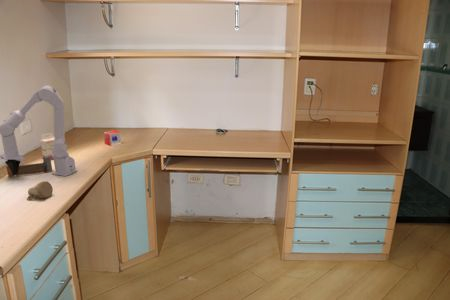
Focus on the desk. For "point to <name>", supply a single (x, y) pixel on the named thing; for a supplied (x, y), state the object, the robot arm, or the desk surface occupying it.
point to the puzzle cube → (112, 138)
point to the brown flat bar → (28, 169)
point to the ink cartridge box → (47, 144)
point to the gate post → (47, 163)
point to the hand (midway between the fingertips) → (15, 173)
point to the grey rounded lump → (40, 190)
